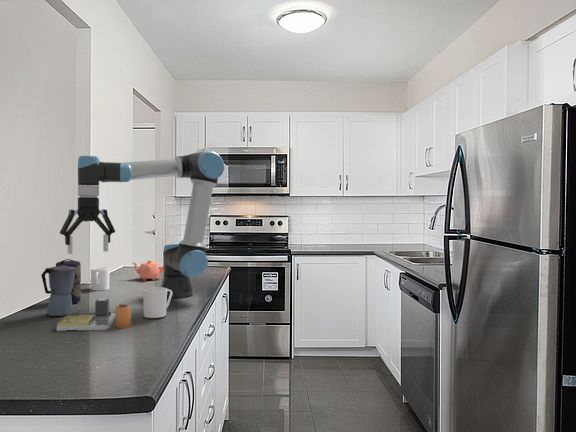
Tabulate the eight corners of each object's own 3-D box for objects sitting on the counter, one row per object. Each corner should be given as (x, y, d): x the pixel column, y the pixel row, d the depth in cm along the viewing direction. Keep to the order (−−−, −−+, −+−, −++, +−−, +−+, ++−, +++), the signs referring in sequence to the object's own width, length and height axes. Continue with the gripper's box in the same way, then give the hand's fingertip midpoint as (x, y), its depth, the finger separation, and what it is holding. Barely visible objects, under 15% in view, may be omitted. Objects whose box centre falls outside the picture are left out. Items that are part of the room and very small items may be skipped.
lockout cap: (131, 324, 178) (131, 302, 177) (129, 328, 173) (129, 305, 173) (117, 324, 177) (117, 303, 176) (114, 328, 172) (114, 306, 172)
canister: (71, 305, 204) (71, 261, 203) (50, 304, 206) (50, 260, 205) (85, 300, 213) (85, 258, 212) (65, 299, 215) (65, 257, 214)
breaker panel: (115, 317, 187) (115, 310, 187) (107, 329, 170) (107, 321, 170) (69, 318, 184) (69, 310, 184) (56, 331, 167) (56, 322, 167)
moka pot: (84, 311, 195) (84, 259, 194) (53, 320, 180) (53, 264, 180) (64, 309, 198) (64, 258, 197) (33, 318, 184) (32, 263, 183)
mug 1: (86, 292, 231) (86, 271, 230) (93, 287, 243) (93, 267, 242) (104, 292, 232) (104, 271, 231) (110, 287, 244) (110, 267, 243)
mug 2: (145, 320, 183) (145, 292, 183) (140, 315, 191) (140, 288, 190) (175, 317, 188) (175, 290, 188) (169, 312, 196) (169, 286, 195)
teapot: (152, 276, 277) (153, 258, 276) (167, 279, 270) (167, 260, 269) (130, 280, 265) (130, 260, 265) (145, 282, 258) (145, 263, 258)
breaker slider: (109, 313, 185) (109, 298, 184) (107, 316, 181) (107, 300, 180) (97, 314, 184) (97, 298, 184) (95, 316, 180) (95, 300, 180)
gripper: (115, 196, 204) (115, 249, 205) (50, 196, 187) (50, 253, 188) (124, 197, 199) (123, 251, 200) (57, 196, 182) (57, 255, 183)
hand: (88, 252), depth 194 cm, fingers open, 13 cm apart
